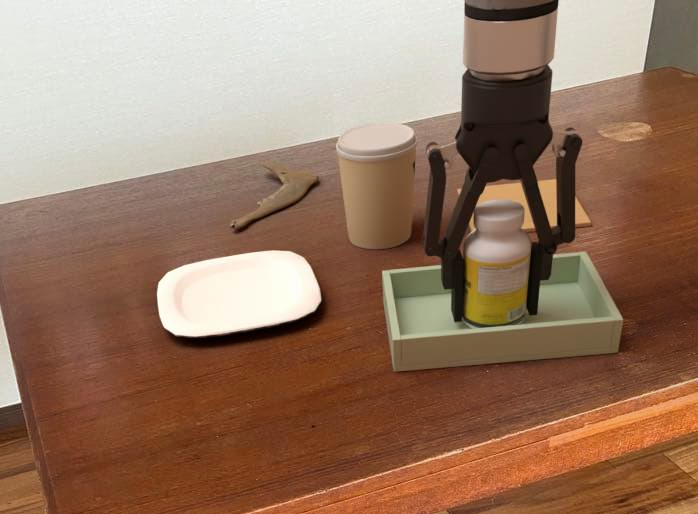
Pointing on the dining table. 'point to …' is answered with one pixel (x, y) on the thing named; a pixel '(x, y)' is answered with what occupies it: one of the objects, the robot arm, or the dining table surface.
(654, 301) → the dining table surface
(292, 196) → the jawbone
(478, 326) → the pill bottle
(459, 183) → the dining table surface
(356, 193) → the coffee cup
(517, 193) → the cork mat
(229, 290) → the plate
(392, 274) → the tray
